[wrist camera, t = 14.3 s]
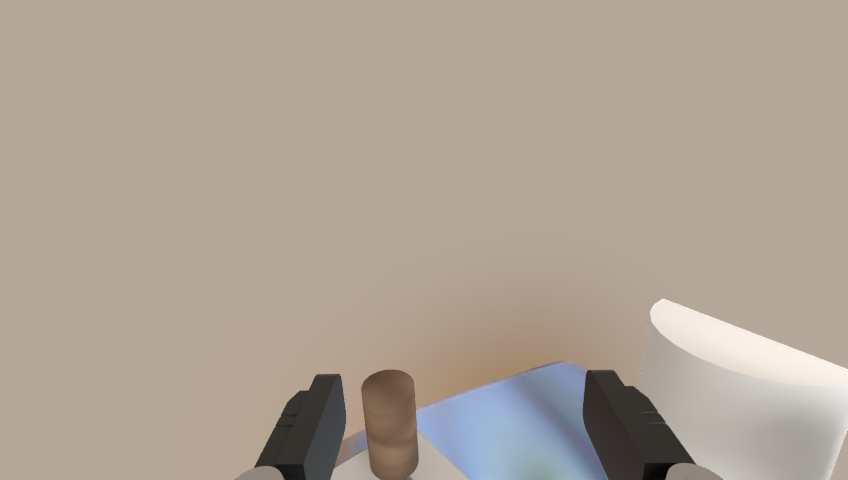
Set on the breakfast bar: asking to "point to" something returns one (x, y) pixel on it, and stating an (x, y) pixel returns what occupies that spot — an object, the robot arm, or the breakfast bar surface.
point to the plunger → (391, 424)
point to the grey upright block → (431, 475)
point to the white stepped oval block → (743, 398)
